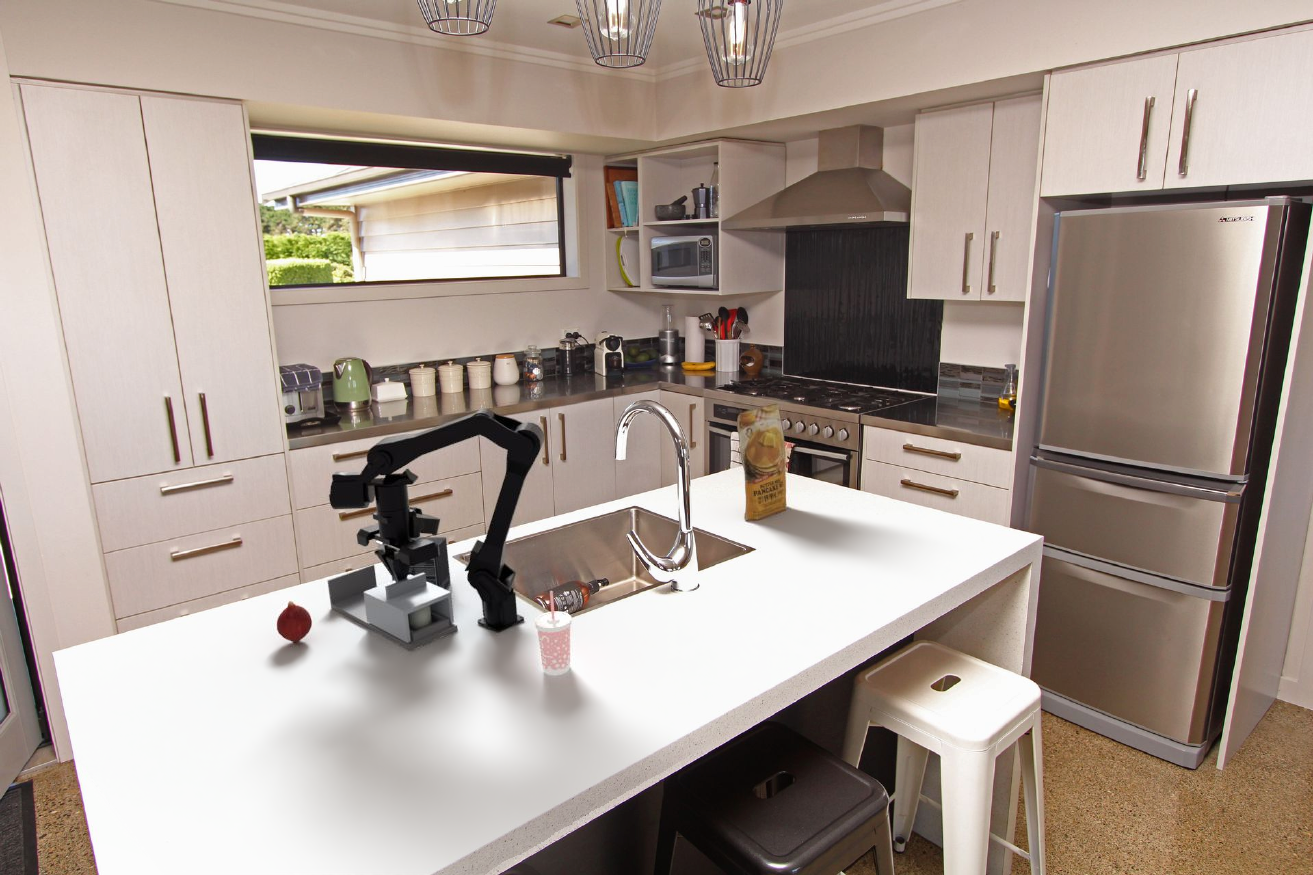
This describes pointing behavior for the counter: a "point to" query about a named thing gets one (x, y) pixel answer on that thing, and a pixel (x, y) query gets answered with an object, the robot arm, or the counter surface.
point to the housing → (352, 604)
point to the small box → (434, 565)
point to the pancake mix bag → (763, 461)
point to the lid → (405, 603)
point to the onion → (294, 622)
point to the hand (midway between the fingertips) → (401, 585)
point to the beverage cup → (554, 640)
